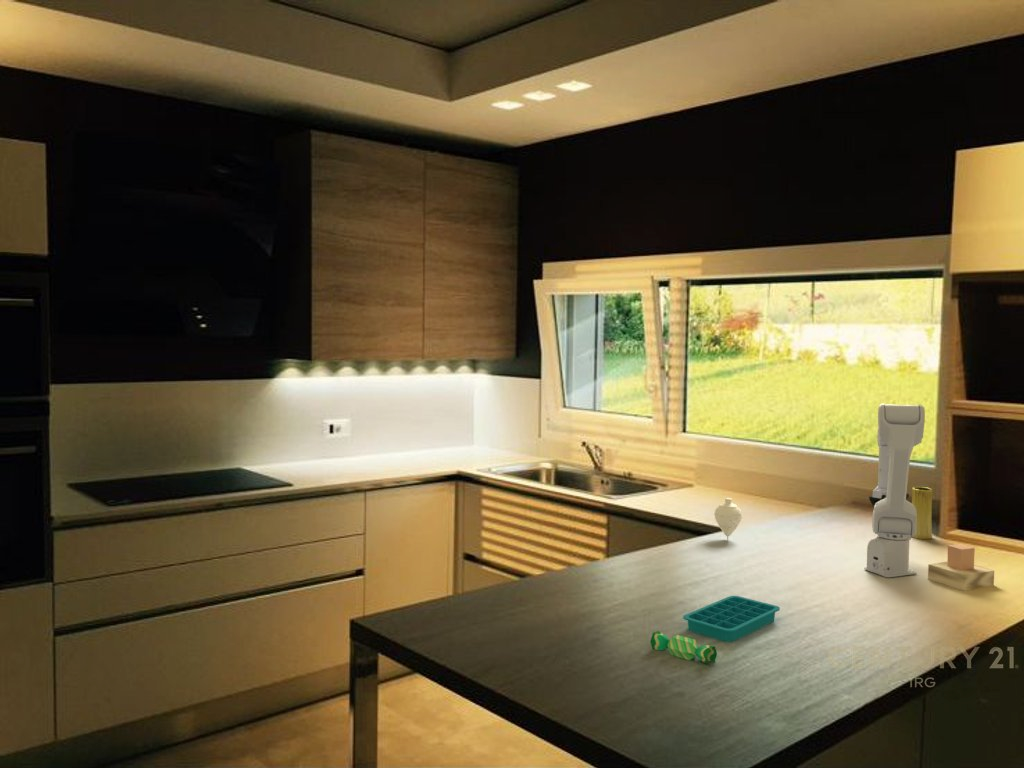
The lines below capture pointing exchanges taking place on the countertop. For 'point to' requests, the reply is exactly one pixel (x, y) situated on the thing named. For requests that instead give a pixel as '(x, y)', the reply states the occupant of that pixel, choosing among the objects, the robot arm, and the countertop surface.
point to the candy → (683, 647)
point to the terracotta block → (961, 556)
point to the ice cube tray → (731, 618)
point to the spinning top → (728, 516)
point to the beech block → (961, 576)
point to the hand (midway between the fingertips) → (888, 521)
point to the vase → (923, 511)
